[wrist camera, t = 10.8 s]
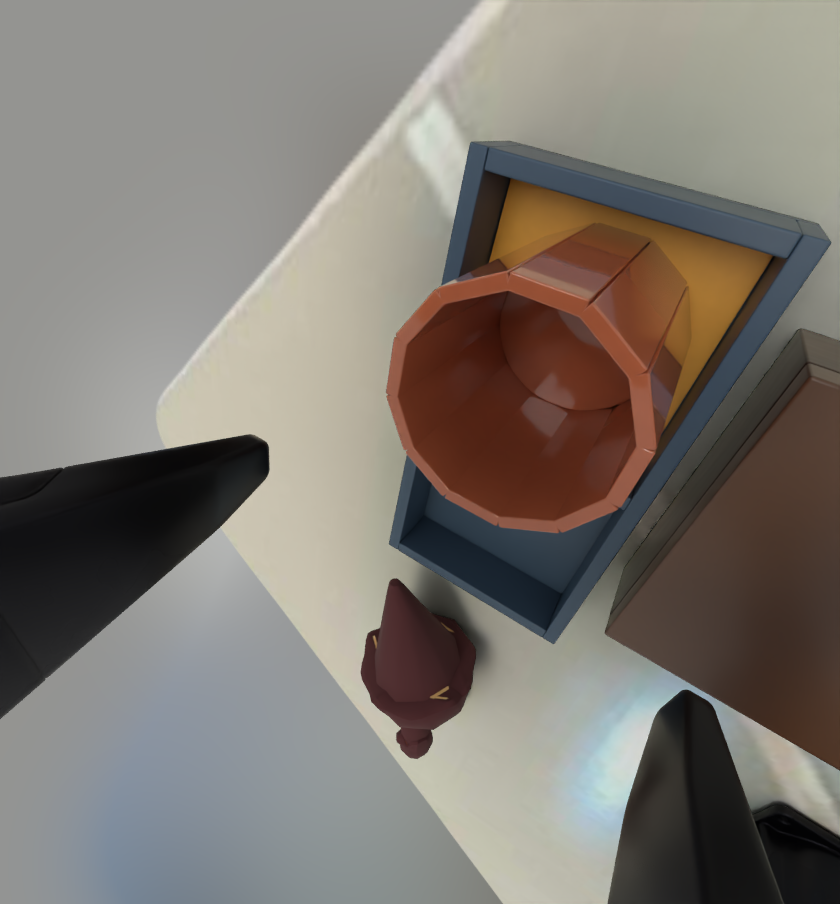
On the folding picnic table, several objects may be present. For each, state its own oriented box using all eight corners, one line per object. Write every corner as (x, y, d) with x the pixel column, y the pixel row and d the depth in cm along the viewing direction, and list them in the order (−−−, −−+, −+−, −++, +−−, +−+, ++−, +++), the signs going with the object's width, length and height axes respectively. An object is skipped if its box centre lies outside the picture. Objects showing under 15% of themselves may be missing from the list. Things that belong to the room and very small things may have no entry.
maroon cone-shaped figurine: (300, 591, 25) (366, 730, 34) (391, 673, 21) (442, 812, 29) (394, 517, 29) (432, 659, 37) (490, 572, 24) (510, 721, 32)
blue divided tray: (820, 223, 13) (832, 241, 11) (571, 600, 24) (553, 644, 22) (508, 140, 16) (469, 141, 14) (417, 512, 27) (388, 544, 25)
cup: (736, 264, 14) (722, 347, 8) (633, 440, 18) (579, 572, 12) (527, 200, 16) (408, 234, 10) (478, 372, 20) (375, 461, 14)
